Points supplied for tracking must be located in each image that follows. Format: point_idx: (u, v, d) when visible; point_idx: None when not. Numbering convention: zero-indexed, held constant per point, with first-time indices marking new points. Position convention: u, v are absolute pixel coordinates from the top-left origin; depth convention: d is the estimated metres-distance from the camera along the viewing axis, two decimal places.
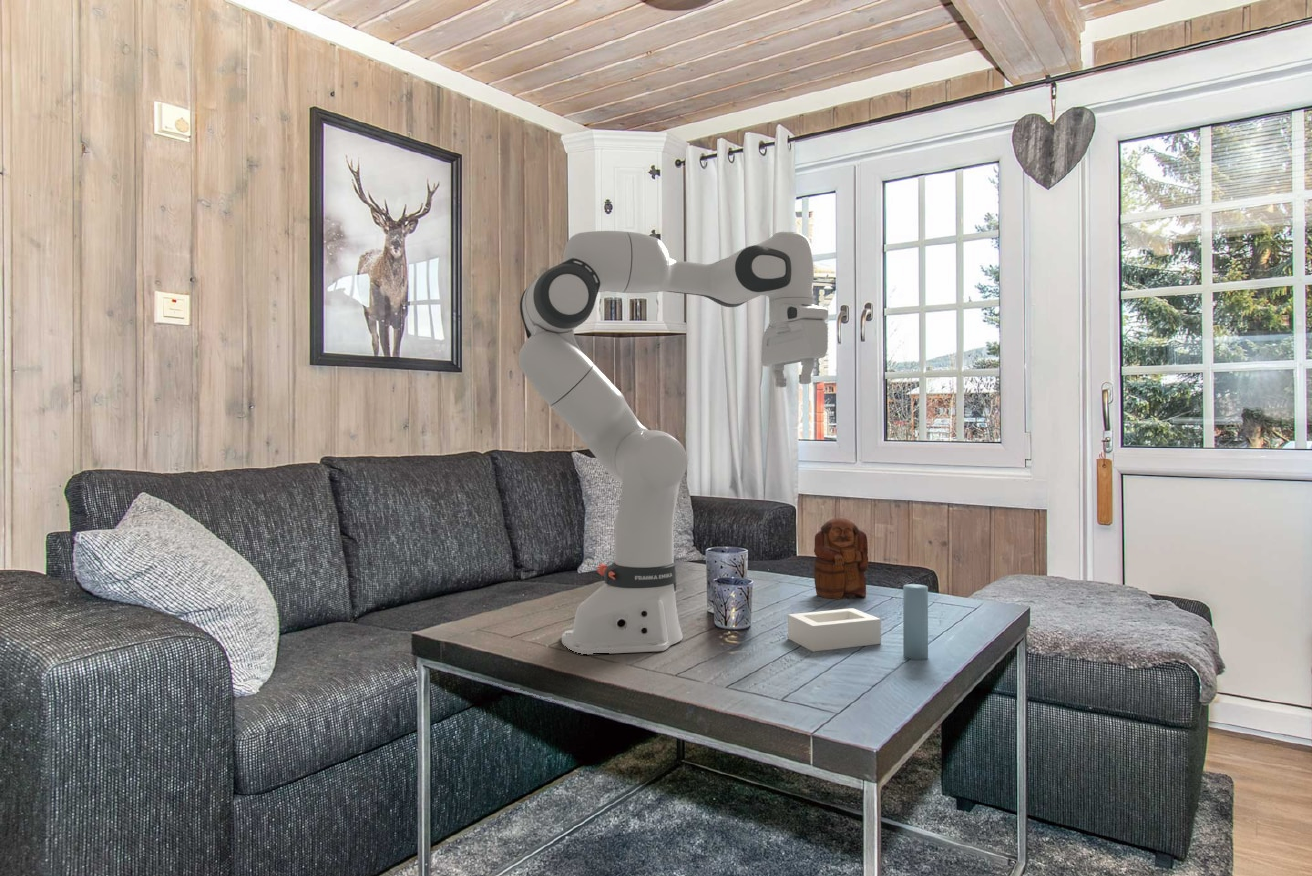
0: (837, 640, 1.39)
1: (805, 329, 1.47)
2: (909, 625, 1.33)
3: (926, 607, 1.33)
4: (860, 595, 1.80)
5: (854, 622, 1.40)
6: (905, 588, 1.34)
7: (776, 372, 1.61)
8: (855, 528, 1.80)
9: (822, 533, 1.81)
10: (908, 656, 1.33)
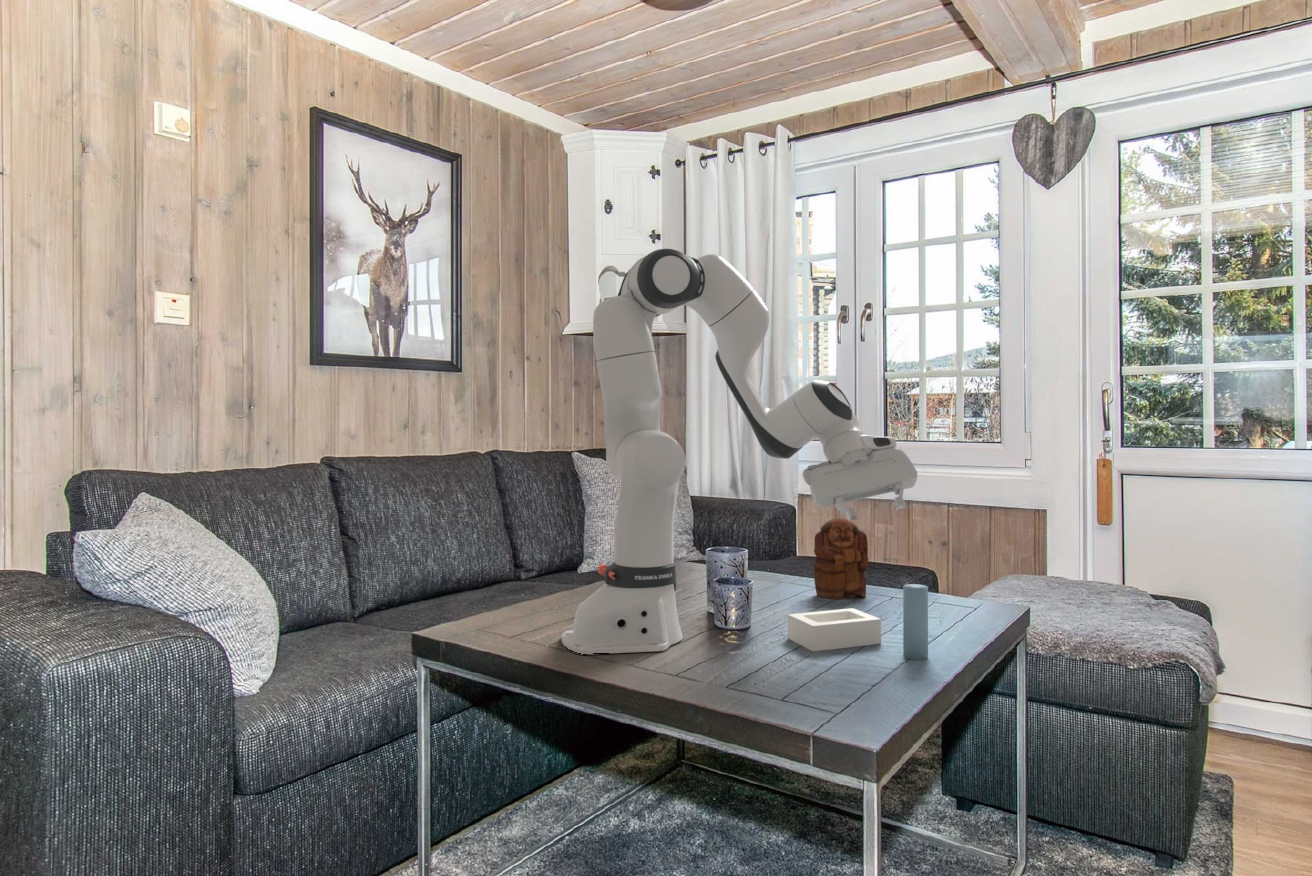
0: (837, 640, 1.39)
1: (904, 454, 1.51)
2: (909, 625, 1.33)
3: (926, 607, 1.33)
4: (860, 595, 1.80)
5: (854, 622, 1.40)
6: (905, 588, 1.34)
7: None
8: (855, 528, 1.80)
9: (822, 533, 1.81)
10: (908, 656, 1.33)
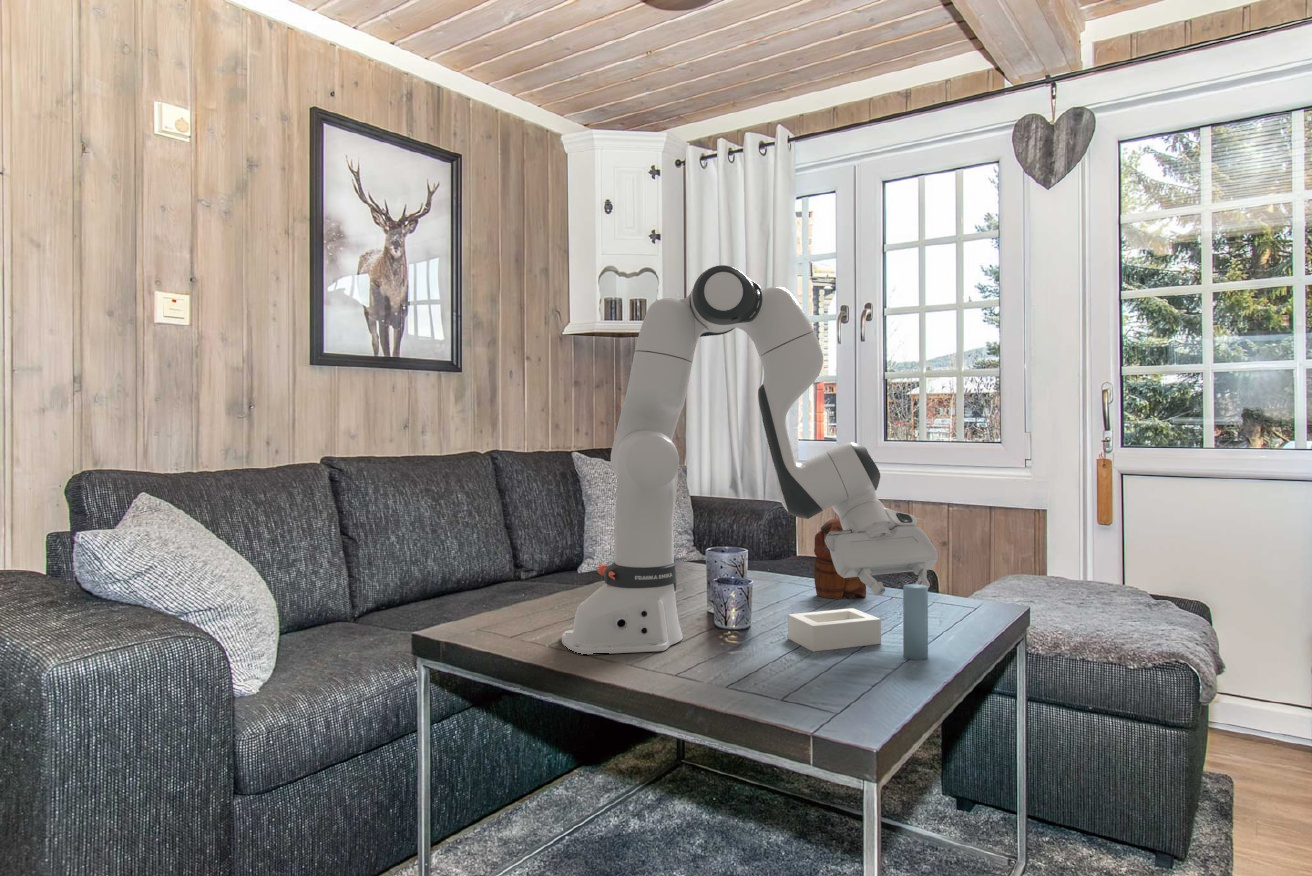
0: (837, 640, 1.39)
1: (925, 534, 1.46)
2: (909, 625, 1.33)
3: (926, 607, 1.33)
4: (860, 595, 1.80)
5: (854, 622, 1.40)
6: (905, 588, 1.34)
7: None
8: None
9: (822, 533, 1.81)
10: (908, 656, 1.33)
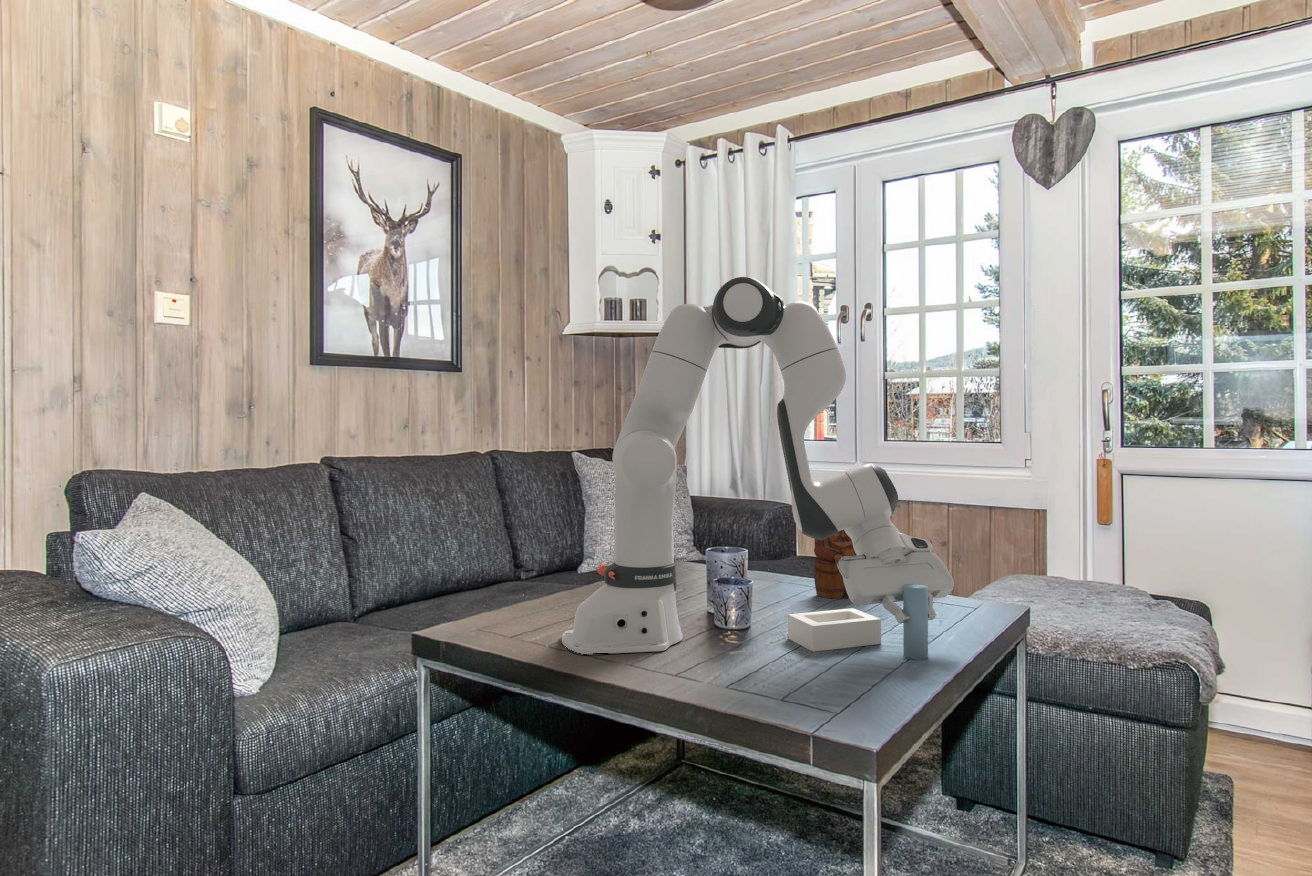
0: (837, 640, 1.39)
1: (941, 561, 1.42)
2: (909, 625, 1.33)
3: (926, 607, 1.33)
4: None
5: (854, 622, 1.40)
6: (905, 588, 1.34)
7: None
8: None
9: None
10: (908, 656, 1.33)
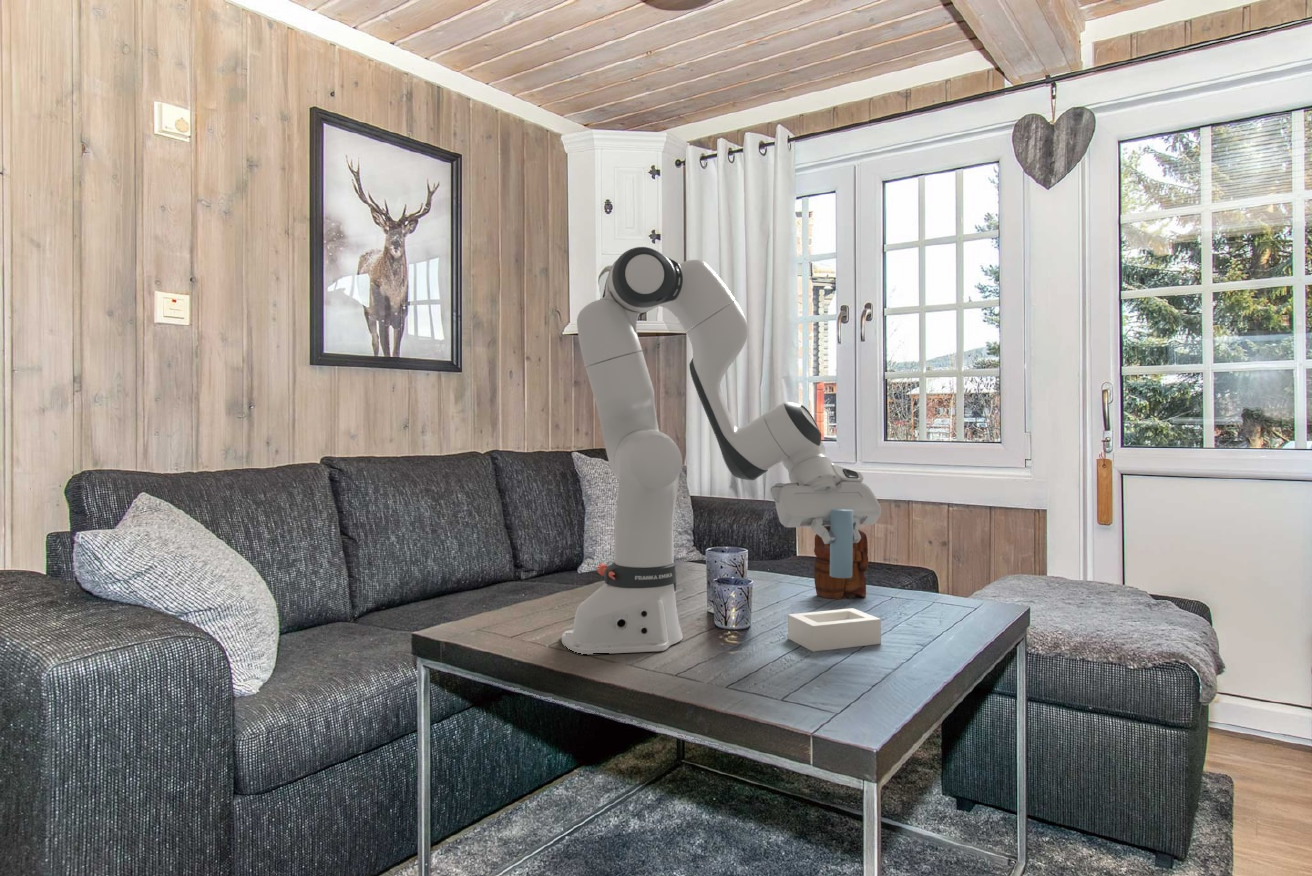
0: (837, 640, 1.39)
1: (870, 490, 1.50)
2: (835, 546, 1.41)
3: (851, 529, 1.41)
4: (860, 595, 1.80)
5: (854, 622, 1.40)
6: (832, 511, 1.42)
7: None
8: None
9: None
10: (833, 575, 1.41)
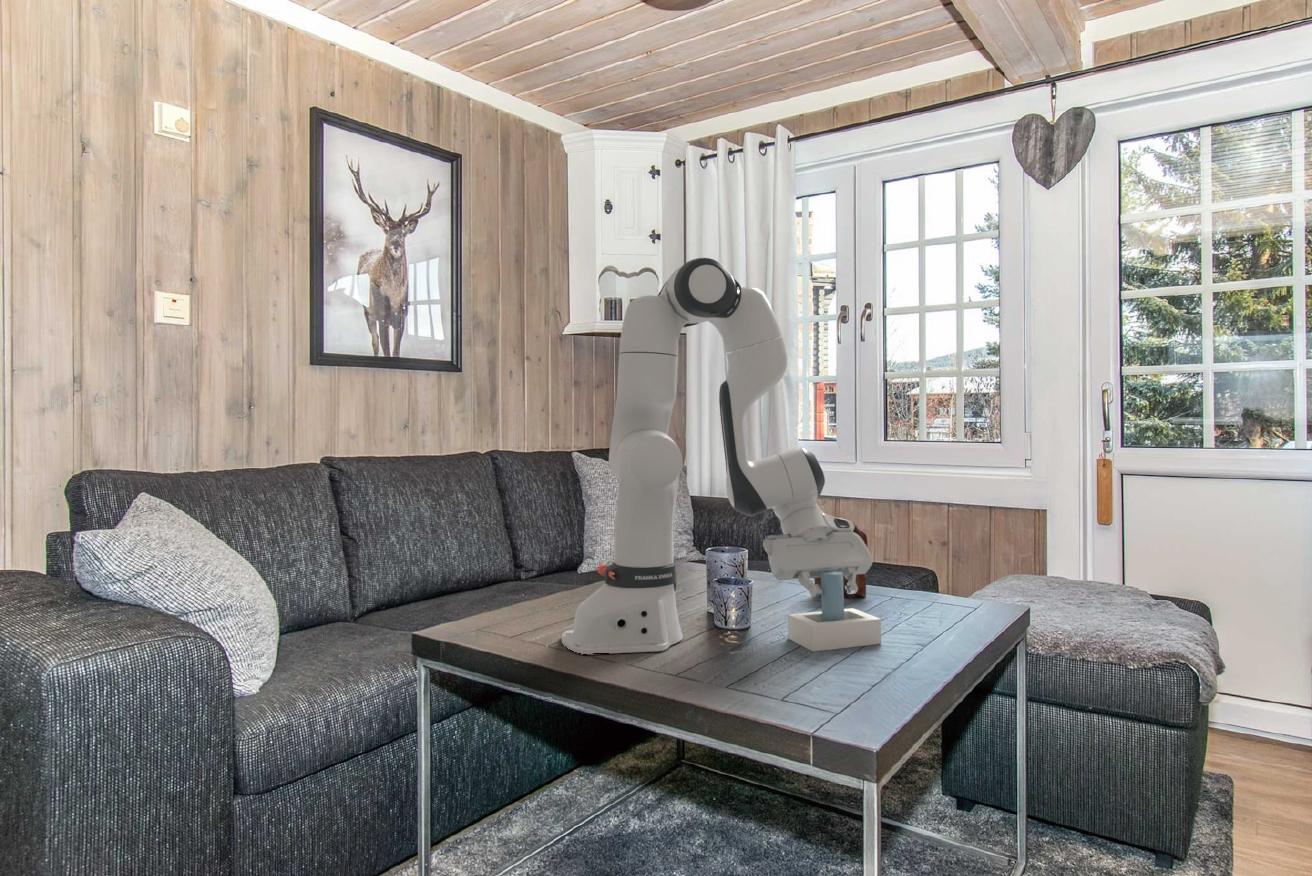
0: (837, 640, 1.39)
1: (861, 540, 1.51)
2: (826, 609, 1.43)
3: (841, 592, 1.43)
4: (860, 595, 1.80)
5: (854, 622, 1.40)
6: (822, 575, 1.43)
7: None
8: (855, 528, 1.80)
9: None
10: None
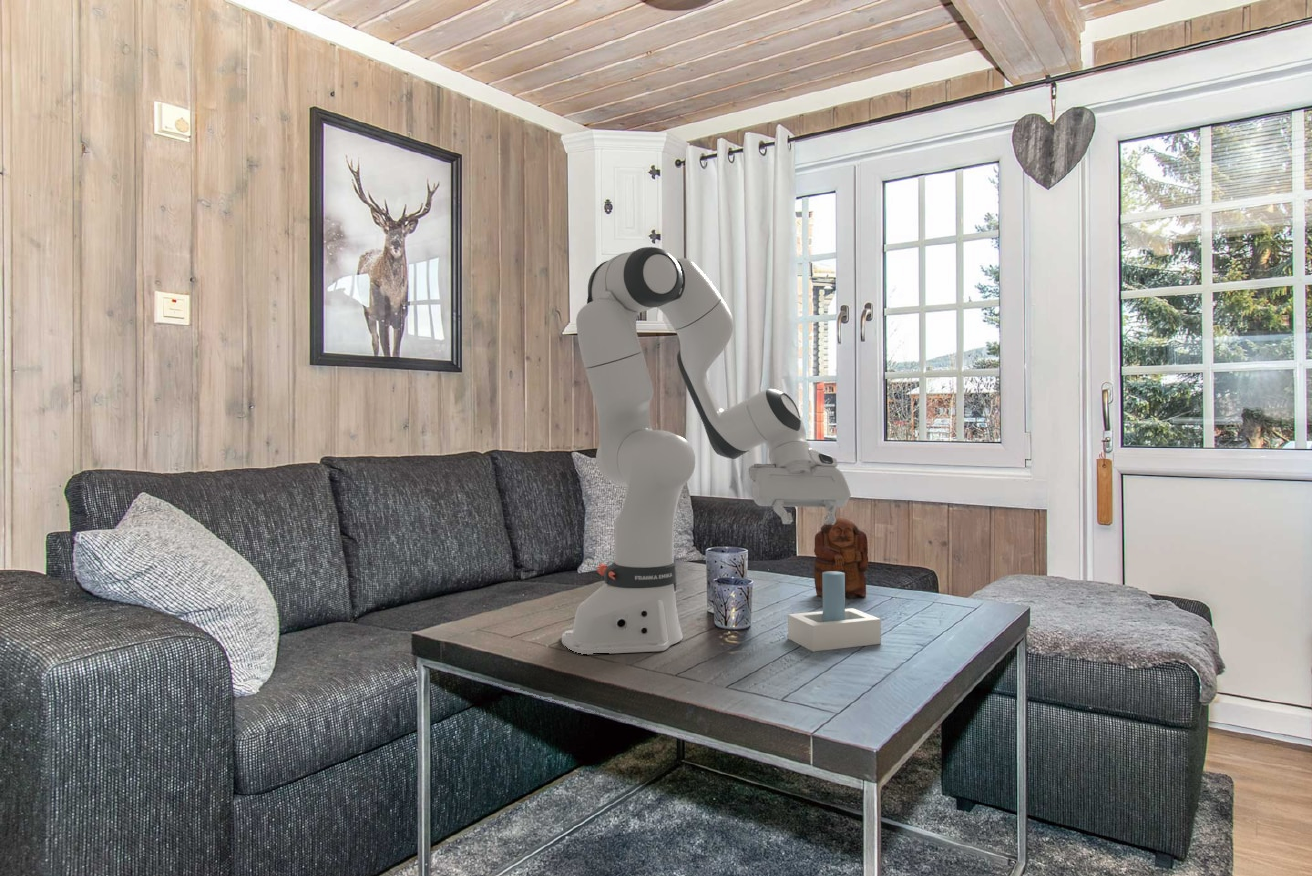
0: (837, 640, 1.39)
1: (842, 476, 1.61)
2: (827, 609, 1.43)
3: (843, 592, 1.43)
4: (860, 595, 1.80)
5: (854, 622, 1.40)
6: (823, 575, 1.44)
7: None
8: (855, 528, 1.80)
9: (822, 533, 1.81)
10: None
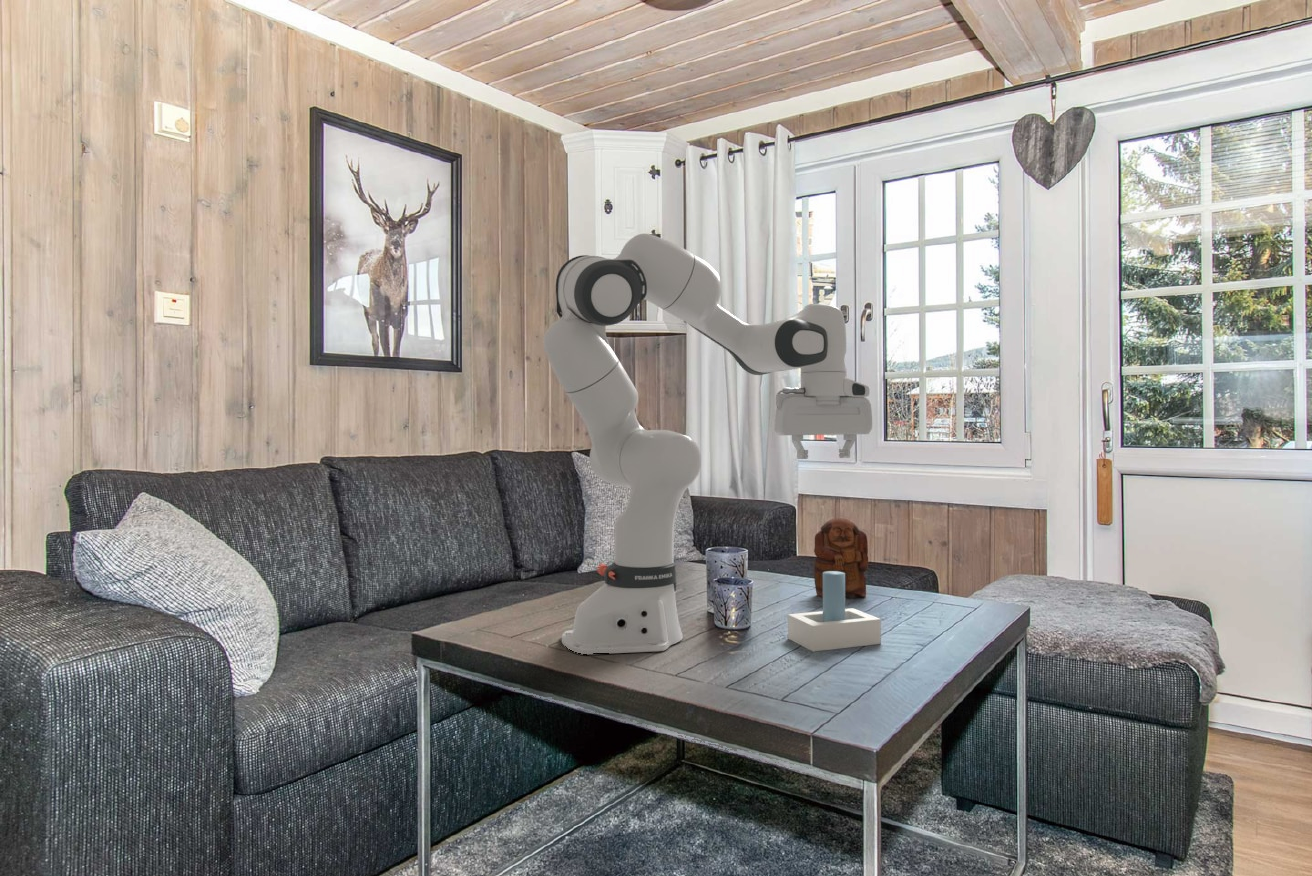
0: (837, 640, 1.39)
1: (870, 408, 1.55)
2: (827, 609, 1.43)
3: (843, 592, 1.43)
4: (860, 595, 1.80)
5: (854, 622, 1.40)
6: (824, 574, 1.44)
7: None
8: (855, 528, 1.80)
9: (822, 533, 1.81)
10: None
